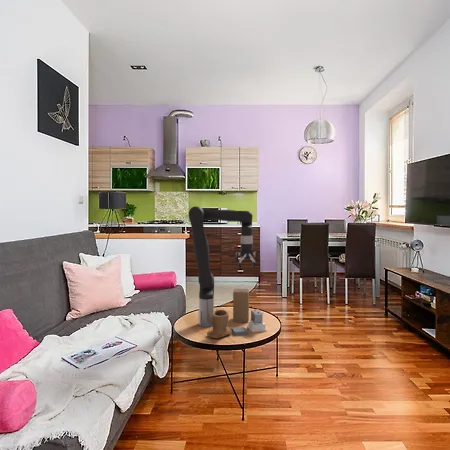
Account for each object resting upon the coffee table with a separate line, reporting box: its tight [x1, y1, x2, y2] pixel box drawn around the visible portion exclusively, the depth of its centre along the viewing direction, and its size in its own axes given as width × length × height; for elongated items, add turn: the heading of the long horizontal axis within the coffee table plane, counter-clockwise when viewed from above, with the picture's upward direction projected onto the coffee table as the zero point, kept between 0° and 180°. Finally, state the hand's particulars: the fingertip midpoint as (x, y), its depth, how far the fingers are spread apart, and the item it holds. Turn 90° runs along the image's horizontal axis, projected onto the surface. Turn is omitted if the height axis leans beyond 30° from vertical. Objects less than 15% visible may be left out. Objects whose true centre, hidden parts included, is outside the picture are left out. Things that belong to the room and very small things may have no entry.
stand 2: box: [246, 320, 267, 333], centre depth 214 cm, size 9×9×4 cm
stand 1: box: [230, 326, 249, 336], centre depth 208 cm, size 8×8×2 cm
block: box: [232, 288, 250, 323], centre depth 231 cm, size 10×10×20 cm
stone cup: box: [206, 309, 233, 339], centre depth 202 cm, size 15×12×15 cm
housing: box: [250, 308, 264, 325], centre depth 213 cm, size 5×8×7 cm, turn 15°
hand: (246, 268), depth 219 cm, fingers open, 8 cm apart
